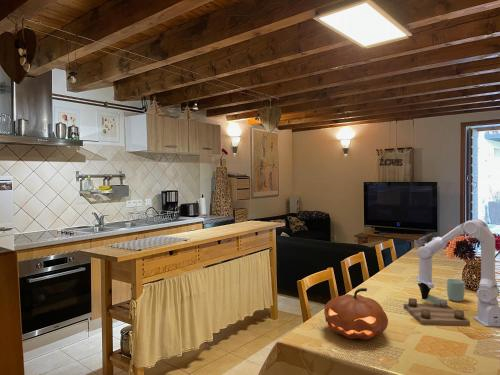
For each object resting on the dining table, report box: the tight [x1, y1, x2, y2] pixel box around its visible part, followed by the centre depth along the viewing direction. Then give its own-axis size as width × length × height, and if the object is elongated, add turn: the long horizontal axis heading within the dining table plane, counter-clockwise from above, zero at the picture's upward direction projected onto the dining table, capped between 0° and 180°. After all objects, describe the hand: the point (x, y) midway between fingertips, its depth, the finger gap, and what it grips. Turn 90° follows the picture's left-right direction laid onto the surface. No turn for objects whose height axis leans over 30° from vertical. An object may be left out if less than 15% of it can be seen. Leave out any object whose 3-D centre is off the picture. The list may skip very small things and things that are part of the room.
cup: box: [446, 278, 466, 303], centre depth 184 cm, size 8×8×10 cm
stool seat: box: [403, 297, 471, 327], centre depth 163 cm, size 20×20×5 cm
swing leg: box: [423, 293, 448, 307], centre depth 174 cm, size 13×3×3 cm, turn 20°
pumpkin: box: [323, 287, 389, 341], centre depth 145 cm, size 25×25×19 cm
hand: (424, 298), depth 177 cm, fingers closed, pressing on swing leg
